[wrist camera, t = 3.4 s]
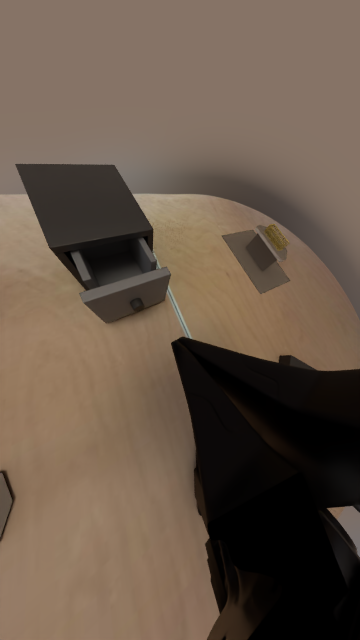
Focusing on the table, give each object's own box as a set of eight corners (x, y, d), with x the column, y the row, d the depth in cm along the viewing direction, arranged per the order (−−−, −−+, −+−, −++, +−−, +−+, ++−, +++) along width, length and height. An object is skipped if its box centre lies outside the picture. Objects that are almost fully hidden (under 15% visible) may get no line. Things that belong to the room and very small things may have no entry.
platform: (253, 229, 37) (273, 203, 31) (290, 280, 34) (321, 262, 28) (221, 235, 33) (238, 207, 27) (260, 294, 30) (289, 276, 24)
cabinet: (151, 274, 25) (153, 229, 16) (89, 294, 21) (49, 247, 12) (125, 226, 27) (114, 164, 18) (63, 236, 23) (14, 163, 15)
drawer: (167, 306, 22) (175, 281, 16) (109, 330, 19) (87, 313, 12) (136, 250, 24) (132, 208, 18) (79, 263, 21) (46, 217, 14)
